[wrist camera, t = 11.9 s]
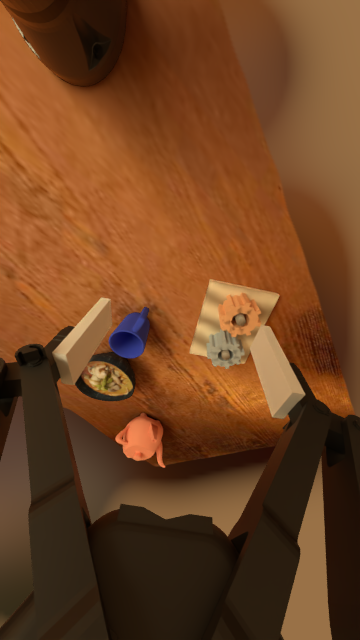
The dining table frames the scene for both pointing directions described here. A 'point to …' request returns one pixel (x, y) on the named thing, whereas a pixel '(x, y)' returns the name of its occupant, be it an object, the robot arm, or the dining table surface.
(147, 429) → the teapot
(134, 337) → the mug
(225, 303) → the gear
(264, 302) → the board
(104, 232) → the dining table surface
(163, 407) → the dining table surface
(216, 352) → the gear
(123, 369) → the bowl
